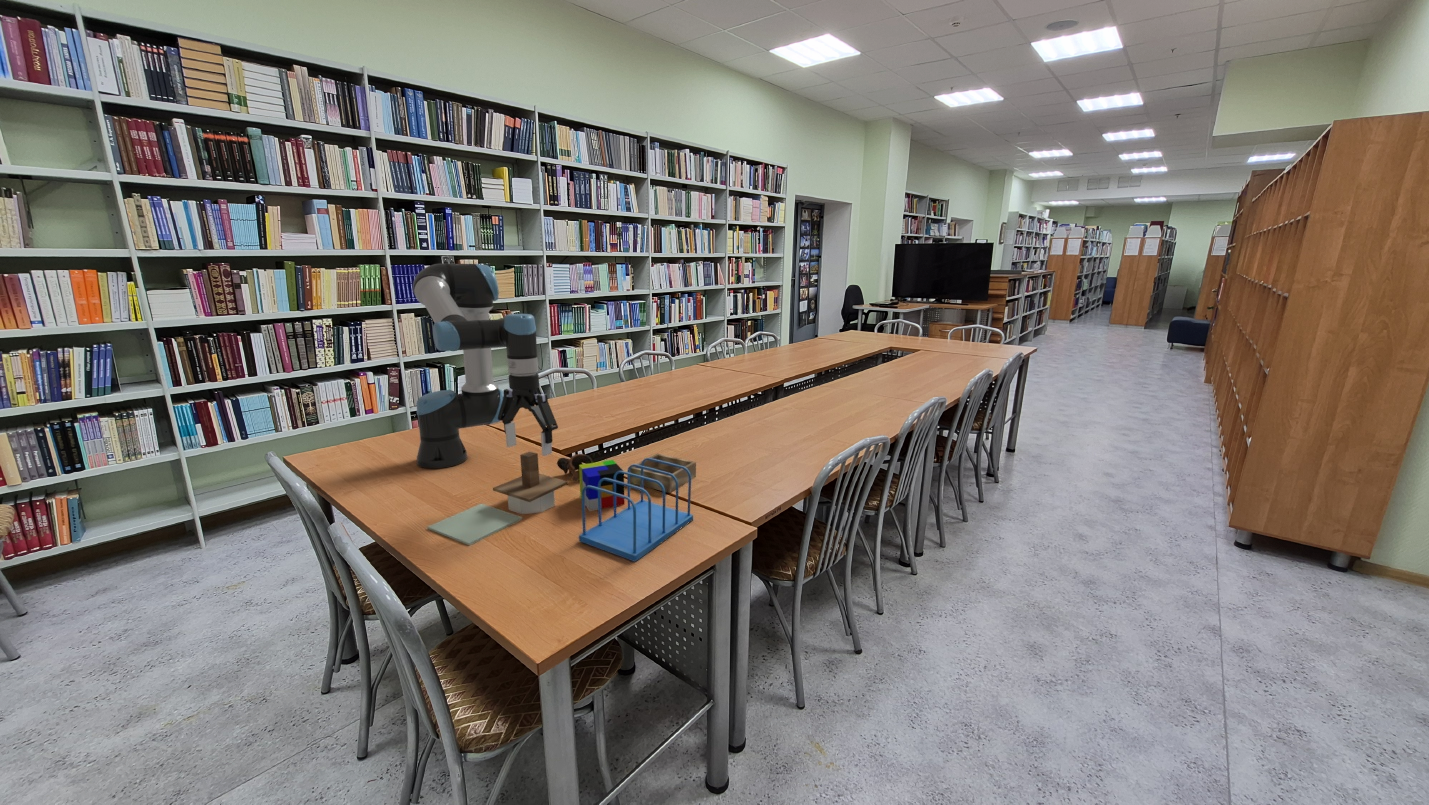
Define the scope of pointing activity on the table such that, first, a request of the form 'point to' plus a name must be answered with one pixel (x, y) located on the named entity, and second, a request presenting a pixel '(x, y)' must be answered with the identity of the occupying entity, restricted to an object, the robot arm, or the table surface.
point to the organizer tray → (664, 479)
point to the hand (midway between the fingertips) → (529, 450)
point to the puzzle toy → (593, 475)
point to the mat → (474, 524)
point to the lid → (530, 481)
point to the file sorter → (635, 518)
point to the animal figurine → (573, 464)
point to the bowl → (531, 504)
